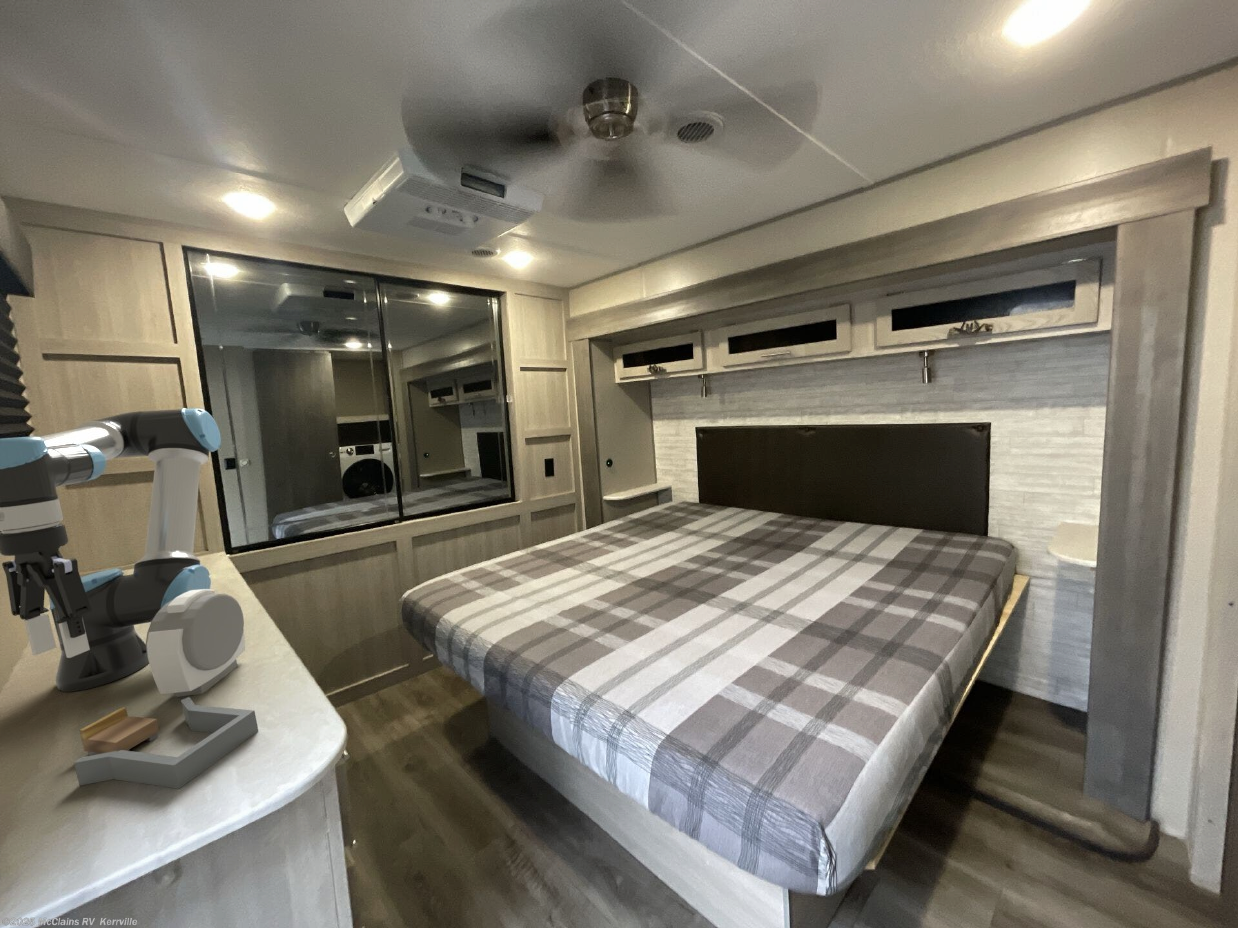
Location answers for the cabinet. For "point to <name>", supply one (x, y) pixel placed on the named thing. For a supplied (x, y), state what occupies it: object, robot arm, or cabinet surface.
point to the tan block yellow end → (117, 732)
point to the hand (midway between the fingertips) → (61, 652)
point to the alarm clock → (195, 641)
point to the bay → (172, 770)
